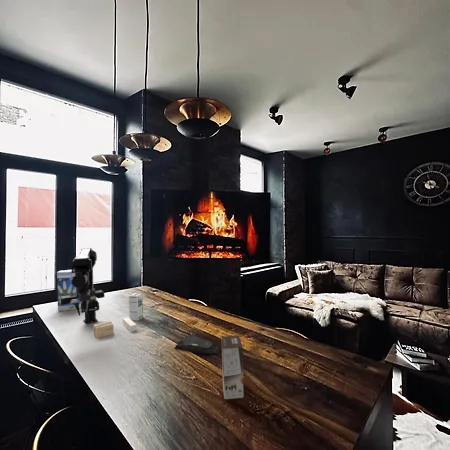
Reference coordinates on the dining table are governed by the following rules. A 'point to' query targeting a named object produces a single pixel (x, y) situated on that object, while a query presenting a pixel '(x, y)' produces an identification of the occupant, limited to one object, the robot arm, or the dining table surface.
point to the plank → (129, 324)
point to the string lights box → (66, 289)
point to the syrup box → (135, 306)
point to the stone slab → (197, 345)
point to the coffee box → (232, 367)
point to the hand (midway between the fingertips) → (83, 314)
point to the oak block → (103, 329)
